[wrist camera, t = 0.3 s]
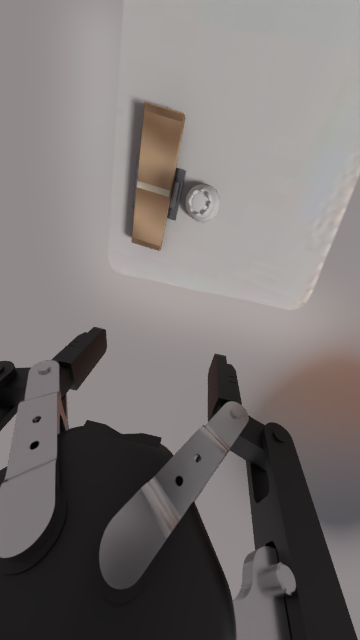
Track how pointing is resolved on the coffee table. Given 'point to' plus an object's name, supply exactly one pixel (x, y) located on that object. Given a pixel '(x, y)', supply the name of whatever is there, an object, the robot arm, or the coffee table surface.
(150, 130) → the beam
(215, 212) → the rook chess piece
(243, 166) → the coffee table surface
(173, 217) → the fulcrum
